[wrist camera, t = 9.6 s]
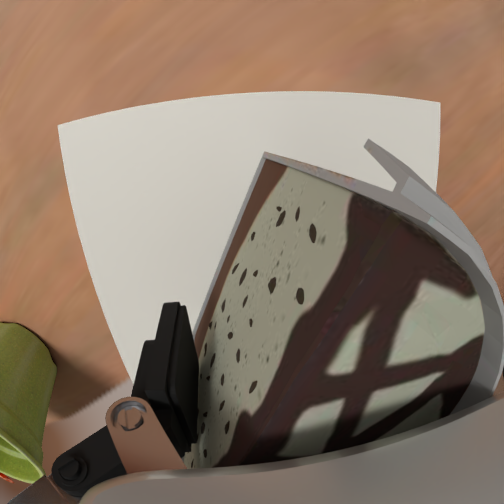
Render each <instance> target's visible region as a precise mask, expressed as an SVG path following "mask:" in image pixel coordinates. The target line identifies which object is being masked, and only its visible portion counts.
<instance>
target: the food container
mask: <svg viewBox="0 0 504 504" xmlns="http://www.w3.org/2000/svg"><path fill="white" fill-rule="evenodd" d="M364 148H365V149H366V150H367V151H368V152H369V153H370V154H371V155H372V156H373V157H374V158H375V159H376V161H377V162H378V163H379V164H380V165H381V166H382V167H383V168H384V169H385V170H386V171H387V172H388V173H389V175H390V176H391V177H392V178H393V179H394V180H395V181H396V182H397V183H396V185H395V187H394V189H393V191H389V190H386V189H383V188H381V187H378V186H375V185H372V184H369V183H367V182H364V181H361V180H358V179H355V178H352V177H349V176H346V175H343V174H340V173H337V172H333V171H330V170H327V169H324V168H321V167H317V166H314V165H311V164H307V163H304V162H301V161H297V160H294V159H290V158H287V157H283V156H279V155H276V154H272V153H268V152H265V151H264V153H263V155H262V158H261V160H260V163H259V165H258V167H257V170H256V172H255V175H254V177H253V179H252V182H251V184H250V187H249V189H248V192H247V194H246V197H245V199H244V201H243V204H242V206H241V209H240V211H239V214H238V216H237V219H236V221H235V224H234V226H233V229H232V231H231V234H230V236H229V239H228V241H227V244H226V246H225V249H224V251H223V254H222V256H221V259H220V261H219V264H218V267H217V269H216V272H215V274H214V277H213V279H212V282H211V285H210V287H209V290H208V292H207V295H206V297H205V300H204V303H203V305H202V308H201V311H200V313H199V316H198V318H197V321H196V324H195V326H194V329H193V332H192V335H193V339H194V343H195V348H196V352H197V356H198V361H199V386H198V420H197V443H196V444H192V446H191V452H185V456H184V457H183V458H181V459H182V461H183V462H184V464H185V466H186V467H187V469H196V468H217V467H230V466H241V465H252V464H261V463H269V462H277V461H284V460H291V459H297V458H303V457H308V456H313V455H319V454H324V453H328V452H333V451H338V450H342V449H346V448H350V447H354V446H358V445H362V444H366V443H370V442H373V441H377V440H380V439H384V438H387V437H390V436H393V435H397V434H400V433H403V432H406V431H409V430H412V429H415V428H417V427H420V426H423V425H426V424H428V423H431V422H434V421H436V420H439V419H441V418H444V417H446V416H449V415H451V414H454V413H456V412H458V411H461V410H463V409H465V408H468V407H470V406H472V405H475V404H477V403H479V402H481V401H483V400H486V399H488V398H490V397H492V396H493V394H494V391H495V389H496V387H497V384H498V382H499V379H500V377H501V374H502V371H503V367H504V305H503V301H502V298H501V295H500V292H499V289H498V286H497V283H496V282H495V280H494V279H493V277H492V274H491V271H490V269H489V266H488V264H487V261H486V259H485V256H484V254H483V251H482V249H481V247H480V246H479V244H478V243H477V241H476V240H475V239H474V237H473V236H472V234H471V233H470V232H469V230H468V229H467V228H466V226H465V225H464V224H463V222H462V221H461V220H460V218H459V217H458V216H457V215H456V213H455V212H454V211H453V210H452V209H451V208H450V207H449V206H448V205H447V203H446V202H445V201H444V200H443V199H442V198H441V197H440V196H439V195H438V194H437V193H436V192H435V191H434V190H433V189H432V188H431V187H430V186H429V185H428V184H427V183H426V182H425V181H424V180H422V179H421V178H420V177H419V176H418V175H417V174H416V173H415V172H414V171H413V170H412V169H411V168H410V167H408V166H407V165H406V164H404V163H403V162H402V161H400V160H399V159H398V158H396V157H395V156H393V155H392V154H390V153H389V152H388V151H386V150H385V149H383V148H382V147H380V146H379V145H377V144H376V143H374V142H373V141H371V140H370V139H368V140H367V141H366V143H365V145H364Z"/></svg>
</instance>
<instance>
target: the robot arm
mask: <svg viewBox="0 0 504 504" xmlns="http://www.w3.org/2000/svg"><path fill="white" fill-rule="evenodd" d="M198 386H199V361H198V356H197V352H196V348H195V343H194V339H193V335H192V330H191V326H190V322H189V317H188V312H187V308H186V305H182V306H181V304H180V302H167V303H163V306H162V311H161V315H160V319H159V323H158V328H157V332H156V337H155V340H146V341H145V342H144V344H143V348H142V352H141V356H140V360H139V364H138V368H137V373H136V377H135V381H134V386H133V390H132V395H131V397H126V398H122V399H120V400H118V401H116V402H114V403H113V404H112V405H111V406H110V407H109V409H108V411H107V413H106V424H107V425H106V426H105V427H103V428H102V429H100V430H99V431H97V432H96V433H94V434H93V435H91V436H89V437H88V438H86V439H85V440H83V441H82V442H80V443H79V444H77V445H76V446H74V447H72V448H71V449H69V450H68V451H66V452H64V453H63V454H61V455H60V456H59V457H58V458H57V459H56V460H55V462H54V463H53V466H52V474H50V475H49V476H48V477H46V476H45V475H43V476H42V477H41V478H39V479H38V480H37V481H35V482H34V483H33V484H32V485H31V486H29V487H28V488H26V489H25V490H24V491H22V492H21V493H20V494H18V495H17V496H16V497H14V498H13V499H12V500H10V501H9V502H8V503H7V504H504V367H503V371H502V374H501V377H500V379H499V382H498V384H497V387H496V389H495V391H494V394H493V396H492V397H490V398H488V399H486V400H483V401H481V402H479V403H477V404H475V405H472V406H470V407H468V408H465V409H463V410H461V411H458V412H456V413H454V414H451V415H449V416H446V417H444V418H441V419H439V420H436V421H434V422H431V423H428V424H426V425H423V426H420V427H417V428H415V429H412V430H409V431H406V432H403V433H400V434H397V435H393V436H390V437H387V438H384V439H380V440H377V441H373V442H370V443H366V444H362V445H358V446H354V447H350V448H346V449H342V450H338V451H333V452H328V453H324V454H319V455H313V456H308V457H303V458H297V459H291V460H284V461H277V462H269V463H261V464H252V465H241V466H230V467H217V468H196V469H187V467H186V466H185V464H184V462H183V461H182V459H181V458H183V457H184V456H185V452H191V446H192V444H196V443H197V420H198Z"/></svg>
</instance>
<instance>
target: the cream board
mask: <svg viewBox="0 0 504 504" xmlns="http://www.w3.org/2000/svg"><path fill="white" fill-rule="evenodd" d="M58 131H59V138H60V145H61V152H62V158H63V164H64V169H65V175H66V180H67V185H68V190H69V195H70V199H71V204H72V208H73V212H74V217H75V221H76V225H77V229H78V232H79V236H80V240H81V244H82V247H83V251H84V254H85V258H86V261H87V264H88V268H89V271H90V274H91V277H92V280H93V284H94V287H95V290H96V293H97V295H98V298H99V301H100V304H101V307H102V310H103V312H104V315H105V318H106V321H107V323H108V326H109V328H110V331H111V334H112V336H113V339H114V341H115V344H116V346H117V348H118V351H119V353H120V356H121V358H122V360H123V363H124V365H125V367H126V369H127V372H128V374H129V376H130V378H131V380H132V383H133V385H134V381H135V377H136V373H137V368H138V364H139V360H140V356H141V352H142V348H143V344H144V342H145V341H146V340H155V337H156V332H157V328H158V323H159V319H160V315H161V311H162V306H163V303H167V302H180V304H181V306H182V305H186V308H187V312H188V317H189V322H190V326H191V330H192V332H193V329H194V326H195V324H196V321H197V318H198V316H199V313H200V311H201V308H202V305H203V303H204V300H205V297H206V295H207V292H208V290H209V287H210V285H211V282H212V279H213V277H214V274H215V272H216V269H217V267H218V264H219V261H220V259H221V256H222V254H223V251H224V249H225V246H226V244H227V241H228V239H229V236H230V234H231V231H232V229H233V226H234V224H235V221H236V219H237V216H238V214H239V211H240V209H241V206H242V204H243V201H244V199H245V197H246V194H247V192H248V189H249V187H250V184H251V182H252V179H253V177H254V175H255V172H256V170H257V167H258V165H259V163H260V160H261V158H262V155H263V153H264V151H265V152H268V153H272V154H276V155H279V156H283V157H287V158H290V159H294V160H297V161H301V162H304V163H307V164H311V165H314V166H317V167H321V168H324V169H327V170H330V171H333V172H337V173H340V174H343V175H346V176H349V177H352V178H355V179H358V180H361V181H364V182H367V183H369V184H372V185H375V186H378V187H381V188H383V189H386V190H389V191H393V189H394V187H395V185H396V183H397V182H396V181H395V180H394V179H393V178H392V177H391V176H390V175H389V173H388V172H387V171H386V170H385V169H384V168H383V167H382V166H381V165H380V164H379V163H378V162H377V161H376V159H375V158H374V157H373V156H372V155H371V154H370V153H369V152H368V151H367V150H366V149H365V148H364V145H365V143H366V141H367V140H368V139H370V140H371V141H373V142H374V143H376V144H377V145H379V146H380V147H382V148H383V149H385V150H386V151H388V152H389V153H390V154H392V155H393V156H395V157H396V158H398V159H399V160H400V161H402V162H403V163H404V164H406V165H407V166H408V167H410V168H411V169H412V170H413V171H414V172H415V173H416V174H417V175H418V176H419V177H420V178H421V179H422V180H424V181H425V182H426V183H427V184H428V185H429V186H430V187H431V188H432V189H433V190H434V191H435V192H436V186H437V175H438V162H439V145H440V103H439V102H433V101H426V100H419V99H412V98H404V97H395V96H386V95H375V94H362V93H346V92H316V91H286V92H256V93H239V94H226V95H215V96H205V97H196V98H188V99H180V100H173V101H167V102H160V103H154V104H148V105H142V106H137V107H132V108H127V109H122V110H117V111H112V112H108V113H103V114H99V115H95V116H91V117H87V118H83V119H79V120H75V121H71V122H68V123H64V124H61V125H58Z"/></svg>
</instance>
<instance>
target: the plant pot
mask: <svg viewBox="0 0 504 504" xmlns="http://www.w3.org/2000/svg"><path fill="white" fill-rule="evenodd" d="M56 374H57V367H56V365H55V364H54V363H53V361H52V359H51V356H50V353H49V350H48V348H47V347H46V346H45V345H44V344H43V343H42V342H41V341H40V340H39V339H38V338H37V337H36V336H35V335H34V334H33V333H31V332H30V331H28V330H27V329H25V328H24V327H22V326H20V325H18V324H15V323H8V324H7V323H1V322H0V472H1V473H3V474H5V475H8V476H10V477H13V478H15V479H18V480H20V481H23V482H27V483H32V484H33V483H34V482H35V481H37V480H38V479H39V478H41V477H42V476H43V475H45V476H46V474H45V471H44V469H43V468H42V461H43V452H42V448H41V446H42V440H43V433H44V427H45V422H46V417H47V412H48V407H49V403H50V398H51V394H52V390H53V386H54V382H55V378H56Z"/></svg>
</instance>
